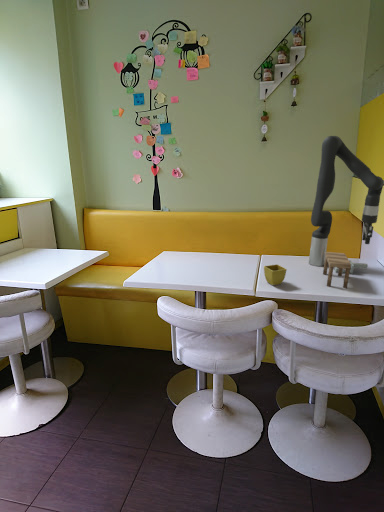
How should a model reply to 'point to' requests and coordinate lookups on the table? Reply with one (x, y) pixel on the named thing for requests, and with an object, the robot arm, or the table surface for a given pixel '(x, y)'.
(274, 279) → the flower pot
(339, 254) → the slatted wooden stool
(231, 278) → the table surface
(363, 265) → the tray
